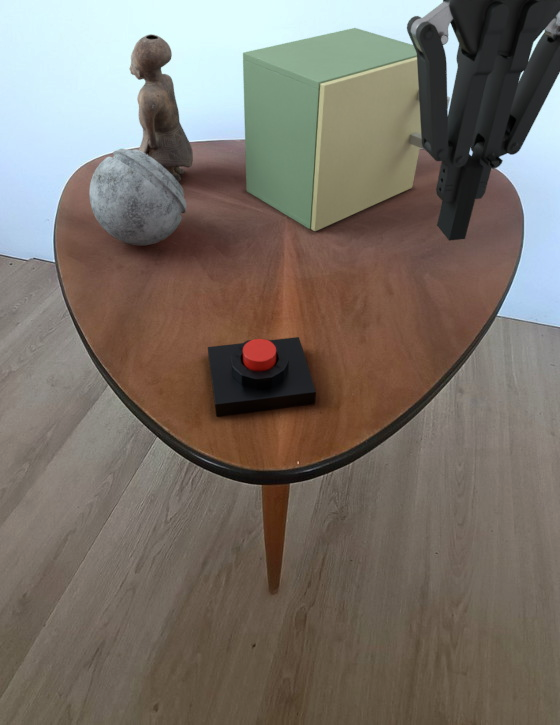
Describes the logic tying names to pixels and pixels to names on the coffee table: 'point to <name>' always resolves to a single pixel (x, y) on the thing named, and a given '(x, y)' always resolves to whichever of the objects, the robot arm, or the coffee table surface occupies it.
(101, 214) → the decorative orb
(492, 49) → the robot arm
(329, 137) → the door
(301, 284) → the coffee table surface
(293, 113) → the cupboard
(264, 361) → the button
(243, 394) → the button block
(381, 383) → the coffee table surface
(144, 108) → the clay figurine
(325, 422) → the coffee table surface
